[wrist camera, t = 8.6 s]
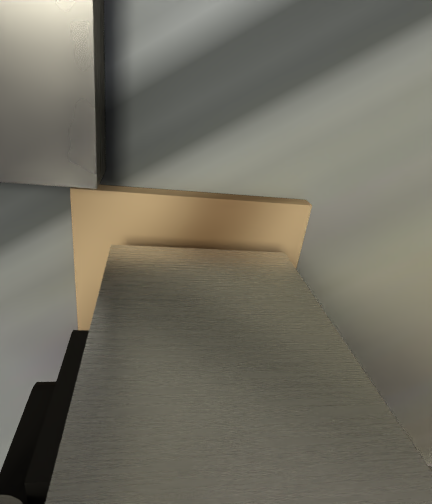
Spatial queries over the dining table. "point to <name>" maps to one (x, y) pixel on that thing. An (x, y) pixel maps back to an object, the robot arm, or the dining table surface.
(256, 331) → the metal cube with knob
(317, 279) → the dining table surface
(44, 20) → the grey metal plate
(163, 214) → the coaster pad
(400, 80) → the dining table surface
